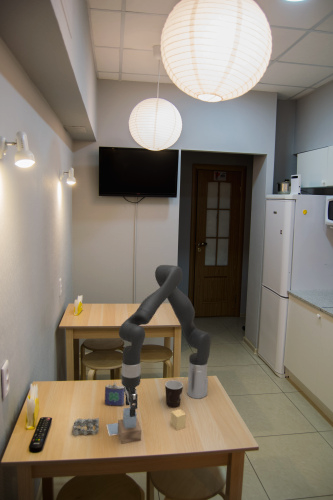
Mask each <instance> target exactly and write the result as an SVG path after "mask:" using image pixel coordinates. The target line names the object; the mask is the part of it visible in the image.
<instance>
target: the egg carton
mask: <svg viewBox="0 0 333 500" xmlns="http://www.w3.org/2000/svg"><path fill="white" fill-rule="evenodd" d="M99 425H100V417H98V418H83V419H82V418H76V420H74V421H73V426H72V435H74V436H75V437H79V435H81V434H82V435H84V436H87V435H88V434H92V435H96V434H98V433H99V429H100V428H99ZM85 426H86V428H84V427H85ZM94 427H95V430H94Z"/></svg>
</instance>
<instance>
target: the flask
mask: <svg viewBox="0 0 333 500" xmlns="http://www.w3.org/2000/svg"><path fill="white" fill-rule="evenodd" d="M104 387H105V388H104V405H105V406H109V407H123V406H124V405H125V392H124V386H123V385H117V382H113V384H107V385H105V386H104Z"/></svg>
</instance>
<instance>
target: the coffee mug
mask: <svg viewBox="0 0 333 500" xmlns="http://www.w3.org/2000/svg"><path fill="white" fill-rule="evenodd" d="M183 389H184V384H183V382H182V381H179V380H173V379H172V380H166V382H165V383H164V390H165V401H166V406H167V407H168V408H171V409H175V408H176V409H177V408H179V407H180V406H181V400H182V393H183Z"/></svg>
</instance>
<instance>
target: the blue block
mask: <svg viewBox="0 0 333 500" xmlns="http://www.w3.org/2000/svg"><path fill="white" fill-rule="evenodd" d="M137 415H138V413H137V412H136V413H135V417H130V407H126V408H123V410H122V419H123V424H124V427H125V429H128V428H134V427H136V417H137ZM137 418H138V417H137Z"/></svg>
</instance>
